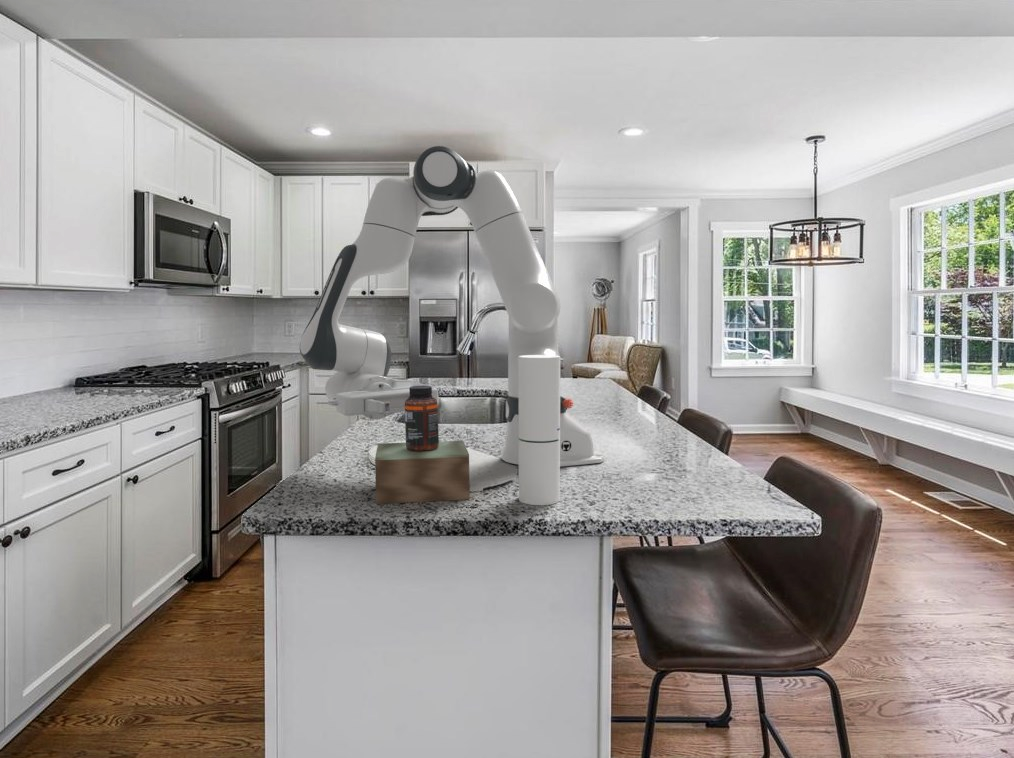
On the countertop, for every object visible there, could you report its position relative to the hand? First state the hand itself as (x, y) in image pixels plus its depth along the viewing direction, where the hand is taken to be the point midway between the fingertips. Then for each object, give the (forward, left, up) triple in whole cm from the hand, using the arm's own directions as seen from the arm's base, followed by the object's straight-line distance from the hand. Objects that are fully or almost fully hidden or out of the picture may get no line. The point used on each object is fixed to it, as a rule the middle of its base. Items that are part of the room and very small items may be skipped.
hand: (408, 404), depth 118 cm
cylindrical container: (-22, +12, -16) cm, 30 cm away
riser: (-2, +4, -16) cm, 16 cm away
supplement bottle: (-2, +4, -8) cm, 9 cm away
